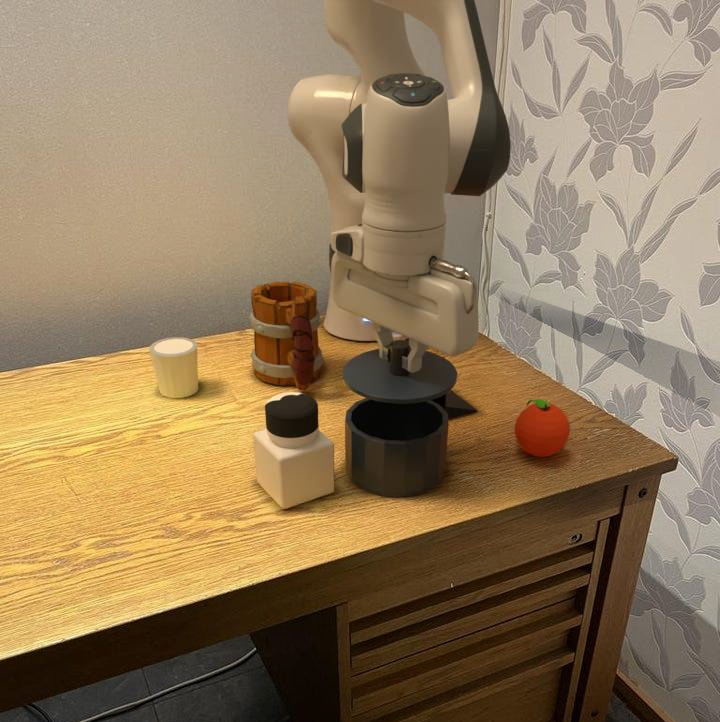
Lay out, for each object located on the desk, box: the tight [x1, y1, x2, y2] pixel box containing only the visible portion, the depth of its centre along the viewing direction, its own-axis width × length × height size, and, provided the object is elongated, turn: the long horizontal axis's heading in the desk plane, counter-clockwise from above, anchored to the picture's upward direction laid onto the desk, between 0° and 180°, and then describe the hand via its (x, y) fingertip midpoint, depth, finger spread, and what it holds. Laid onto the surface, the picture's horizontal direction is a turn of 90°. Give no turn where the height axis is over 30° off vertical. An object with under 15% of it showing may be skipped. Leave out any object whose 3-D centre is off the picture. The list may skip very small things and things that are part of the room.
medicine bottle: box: [252, 391, 335, 510], centre depth 94 cm, size 7×7×12 cm
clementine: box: [514, 398, 571, 458], centre depth 102 cm, size 8×7×7 cm
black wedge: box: [431, 389, 478, 421], centre depth 112 cm, size 12×7×5 cm, turn 117°
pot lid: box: [342, 340, 458, 404], centre depth 93 cm, size 13×13×5 cm
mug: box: [249, 280, 325, 391], centre depth 118 cm, size 11×16×15 cm, turn 20°
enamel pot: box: [344, 397, 450, 498], centre depth 98 cm, size 12×12×8 cm
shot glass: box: [148, 336, 199, 399], centre depth 117 cm, size 7×7×7 cm
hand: (399, 364), depth 93 cm, fingers closed on pot lid, 2 cm apart
